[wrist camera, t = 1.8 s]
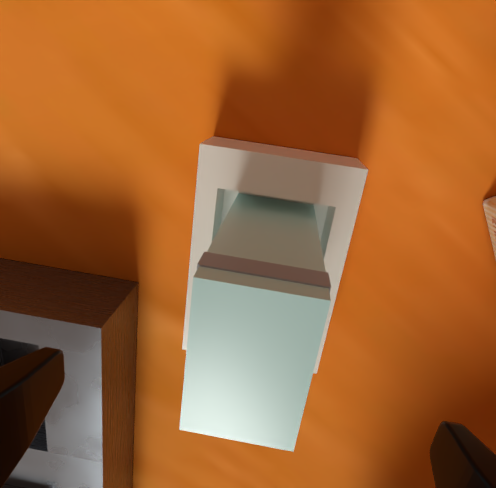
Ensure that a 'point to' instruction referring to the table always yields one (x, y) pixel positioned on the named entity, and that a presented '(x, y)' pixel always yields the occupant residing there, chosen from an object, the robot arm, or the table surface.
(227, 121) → the table surface
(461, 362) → the table surface
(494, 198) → the coffeecake box
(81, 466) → the panel
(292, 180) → the light grey tray
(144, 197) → the table surface
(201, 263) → the plug
